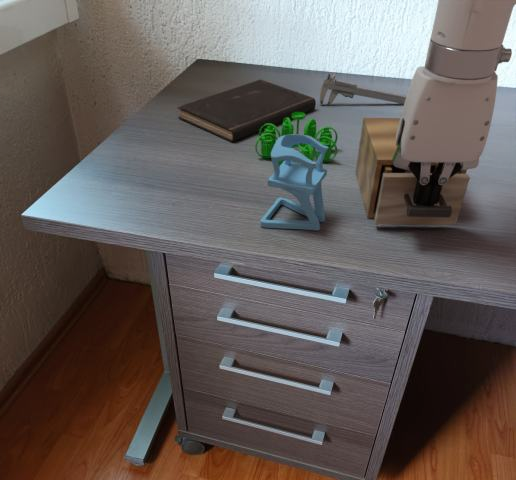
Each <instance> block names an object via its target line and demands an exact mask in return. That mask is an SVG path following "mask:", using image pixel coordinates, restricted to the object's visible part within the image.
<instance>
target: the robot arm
mask: <svg viewBox="0 0 516 480" xmlns="http://www.w3.org/2000/svg"><path fill="white" fill-rule="evenodd" d="M437 1H438V2H437V7H436V11H435V15H434V21H433V24H432V30H431V34H430V39H429V43H428V47H427V51H426V52H427V53H426V57H425V63H424V66H418V67H416V69H415V72H414V74H413V76H412V79H411V82H410V84H409V87H408V91H407V93H406V95H405V96H406V99H405V103H404V104H403V107H402V110H401V113H400V117H399V118H400V121H399V124H398V129H397V133H396V146H398V147H397V149H396V152H395V154H394V156H393V158H392V162H393V164H394V166H395V167H398V168H402V169H406V170H410V171H411V172H412V173H413V174H414V176H415V177H416V178H417V182H416V186H415V191H414V195H413V202H414V204H416V205H434V204H437V203H438V200H439V197H440V193H441V189H442V186H443V185H445V184H446V183H447V182H448V180H449V178H451V177H452V176H454V175H455V174H456V173H458V172H459V171H460V170H467V171H468V170H471V169H475V168H477V167H478V166H479V164H480V158H481V157H482V154H483V152H484V149H485V146H486V144H487V141H488V137H489V134H490V133H489V132H490V129H491V124H492V120H493V116H494V111H495V103H496V97H497V89H498V78H499V76H498V74H497V69H498V66H499V64H503V63H509V62H510V61H511V58H512V54H513V51H512V50H513V49H512V48H506V47H505V46H504V45H503V43H504V39H505V36H506V33H507V30H508V28H509V27H508V26H509V23H510V20H511V16H512V13H513V9H514V7H515V5H516V0H437ZM403 128H404V129H403ZM431 163H437V164H436V166H435V169H434V171H433V173H432V175H430V168H431Z"/></svg>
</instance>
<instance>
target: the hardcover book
mask: <svg viewBox="0 0 516 480" xmlns="http://www.w3.org/2000/svg"><path fill="white" fill-rule="evenodd" d="M316 102H317V101H316V99H315V97H312V96H309V95H306V94H304V93H301V92H298V91H295V90H292V89H289V88H286V87H285V86H284V87H283V86H280V85H279V84H278V85H277V84H275V83H272V82H270V81H267V80H263V79H258V80H254V81H251V82H248V83H245V84H242V85H239V86H236V87H233V88H230V89H227V90H224V91H221V92H218V93H215V94H212V95H210V96H205V97H203V98H199V99H197V100H193V101H191V102H188V103H185V104H182V105H178V106H177V109H178V110H179V115H180V116H178V119H179V120H181V121H183V122H185V123H188V124H189V125H191V126H194V127H196V128H199V129H201V130H203V131H205V132H208V133H210V134H212V135H214V136H216V137H219V138H220V139H223V140H225V141H227V142H230V143H233V142H235V141H238V140H241V139H244V138H246V137H248V136H251V135H253V134H256V133H259V130H260V128H261V127H262V126H263V125H264V124H267V123H270V124H273V125H275V126H277V125H278V124H282V123H283V120H284V118H289V119H290V120H291V119H293V118H292V113H294V112H303V113H305V114H306V113H308V112H311V111H313V110H315V109H316V105H317V103H316ZM267 126H268V125H266V126H264V127H263V128H262V130H261V131H264V130H265V128H267Z"/></svg>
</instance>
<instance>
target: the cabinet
mask: <svg viewBox="0 0 516 480" xmlns="http://www.w3.org/2000/svg"><path fill="white" fill-rule="evenodd" d="M399 121H400V117H363V119H362V125H361V132H360V139H359V145H358V152H357V159H356V165H355V166H356V167H355V176H356V180H357V184H358V187H359V191H360V194H361V199H362V203H363V206H364V210H365V215H366V217H367V219H375V214H376V209H377V208H376V204H375V202H376V196H377V191H378V185H379V180H380V174H381V168H382V165H394V164H393V162H392V158H393V156H394V154H395V152H396V149H397V147H398V146H396V133H397V129H398V124H399ZM403 129H404V128H403ZM436 164H437V163H431V165H435V166H436ZM467 171H468V169H467V170H460V171H459V173H458V174H467Z"/></svg>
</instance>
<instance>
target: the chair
mask: <svg viewBox="0 0 516 480" xmlns="http://www.w3.org/2000/svg"><path fill="white" fill-rule="evenodd" d="M277 138H278V140H277V139H276V143H275V145H274V147H273V149H272V151H271V162H272V166H273V174H271V176H269V178H268V179H267V187H271V188H277V189H280V190H283V191H284V192H287V193H289V194H291V195H292V196H294V198H296V200H297V201H298V203H297V202H295V201H293V200H290V199H288V198H285V197H282V196H280V197H279V196H278V197H277V199H275V201H274V203H273V204H272V205H271V206H270V208H269V209H268V210H267V212H266V213H265V214H264V216H263V217H262V218H261V219H260V227H261V228H266V229H289V230H307V231H320V230H321V229H320V228H321V224H320V223H324V222H326V213H325V212H326V211H325V207H324V199H323V187H322V182H323V180H325V177H327V175H328V168H324V166H323V163H324V162H323V158H324V155H325V153H326V151H327V149H328V147H327V146H325V145H323V144H321V143H320V142H319V140H318V141H317V139H316V140H315V139H314V138H312V137H310V136H307V135H304V134H299V133H298V134H296V133H293V134H292V135H284V136H281V137H280V138H279V137H277ZM301 143H304V144H309V145H311V146H313V147H314V148H315V150H316V151H319V152H320V155H319V158H317V160H316V161H314V160H313V161H311V160H310V159H308V158H307V157H305V156H304V155H303V154H301V151H298V150H297V149H295V148H293V147H292V148H290V147H291V146H293V145H296V144H301ZM313 147H312V148H313ZM283 160H285V161H284V162H283V163H282V164H281V165H280V167H279V165H278V163H277V162H279V161H283ZM301 164H302V165H301ZM311 196H312V199H313V204H314V205H313V206H314V209H313V206H312V202H311V200H310V199H311V198H310V197H311ZM280 206H284V207H286V208H288V209H290V210H293V211H294V212H296V213H299V214H300V215H303V216H304V217H307V219H308V220H295V219H294V220H291V219H289V220H286V219H285V220H284V219H271V218H272V217H273V215H275V212H277V210H278V209H279V208H280Z"/></svg>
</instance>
